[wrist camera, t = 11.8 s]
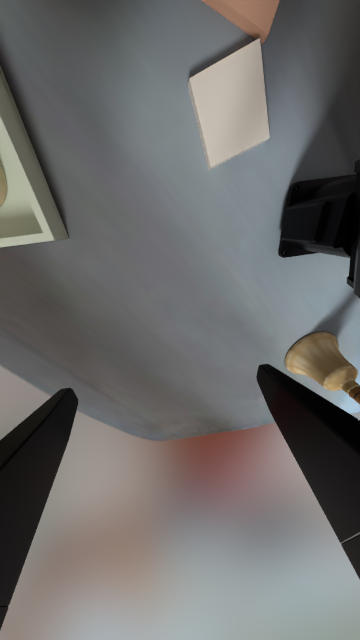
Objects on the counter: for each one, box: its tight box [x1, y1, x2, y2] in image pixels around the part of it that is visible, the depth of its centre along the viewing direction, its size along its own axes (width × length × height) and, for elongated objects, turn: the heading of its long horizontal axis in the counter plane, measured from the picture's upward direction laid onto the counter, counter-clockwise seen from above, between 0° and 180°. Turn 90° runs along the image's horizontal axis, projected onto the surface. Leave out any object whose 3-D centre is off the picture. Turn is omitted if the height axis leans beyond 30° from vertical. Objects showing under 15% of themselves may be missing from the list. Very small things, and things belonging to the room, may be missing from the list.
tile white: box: [188, 38, 270, 170], centre depth 13 cm, size 5×5×1 cm
